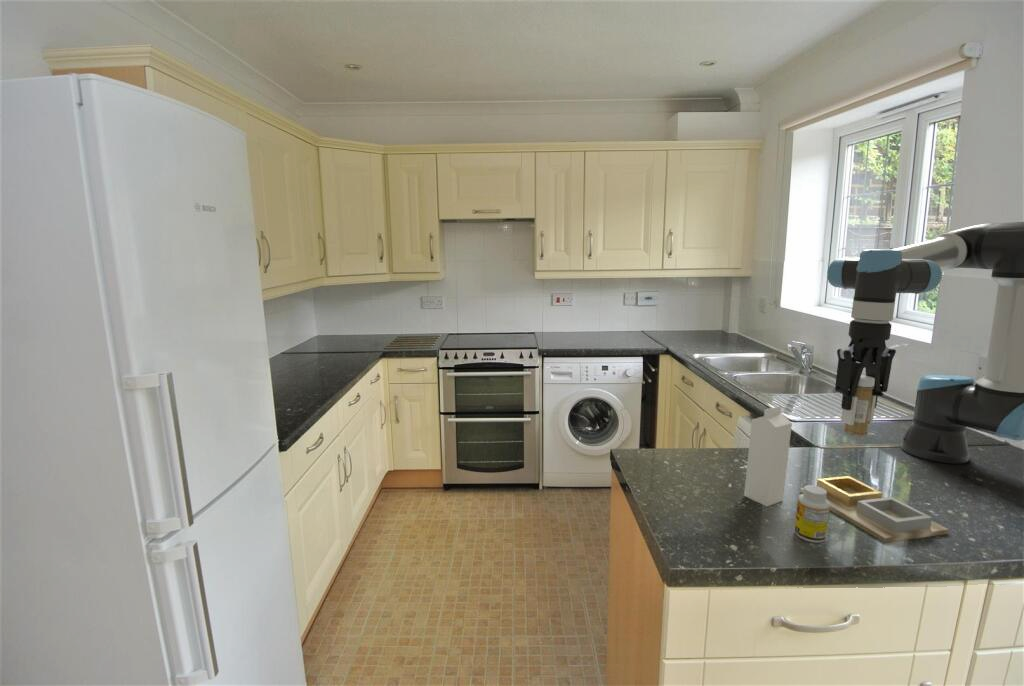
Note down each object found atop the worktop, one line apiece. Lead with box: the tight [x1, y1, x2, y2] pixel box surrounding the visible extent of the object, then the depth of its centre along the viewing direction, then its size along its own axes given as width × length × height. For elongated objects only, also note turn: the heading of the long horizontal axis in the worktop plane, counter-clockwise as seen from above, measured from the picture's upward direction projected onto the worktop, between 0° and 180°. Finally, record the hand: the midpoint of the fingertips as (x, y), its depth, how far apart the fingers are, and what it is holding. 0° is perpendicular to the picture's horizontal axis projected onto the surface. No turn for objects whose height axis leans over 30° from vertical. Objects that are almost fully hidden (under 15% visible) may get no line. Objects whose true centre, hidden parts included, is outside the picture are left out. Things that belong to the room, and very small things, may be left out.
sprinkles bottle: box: [843, 374, 875, 437], centre depth 115 cm, size 5×5×13 cm
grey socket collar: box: [856, 496, 933, 533], centre depth 108 cm, size 9×9×2 cm
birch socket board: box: [799, 487, 950, 543], centre depth 113 cm, size 16×22×1 cm
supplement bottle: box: [794, 484, 831, 544], centre depth 102 cm, size 6×6×10 cm
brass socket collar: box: [816, 475, 884, 507], centre depth 118 cm, size 9×9×2 cm
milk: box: [743, 405, 793, 507], centre depth 117 cm, size 6×6×22 cm
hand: (856, 422), depth 116 cm, fingers closed on sprinkles bottle, 4 cm apart
